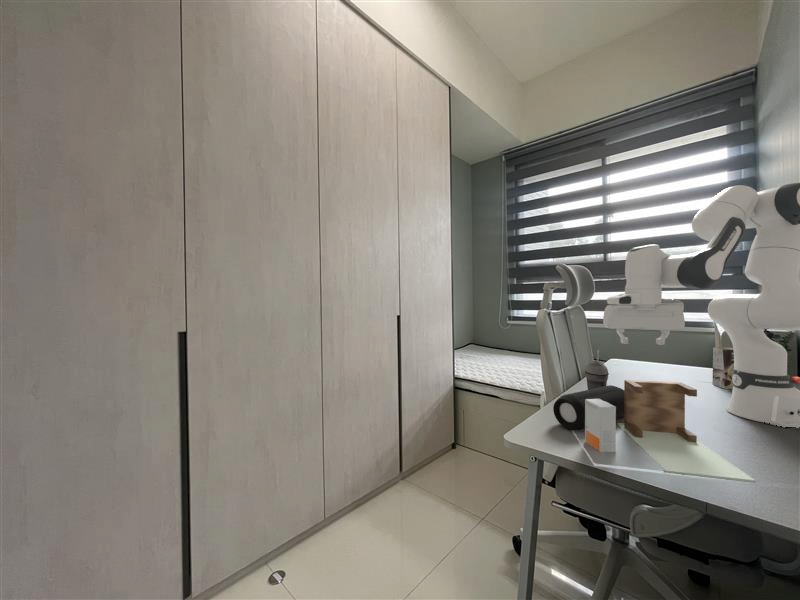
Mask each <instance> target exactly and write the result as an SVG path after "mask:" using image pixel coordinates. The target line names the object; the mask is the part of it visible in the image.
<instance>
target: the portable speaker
mask: <svg viewBox="0 0 800 600" xmlns="http://www.w3.org/2000/svg"><path fill="white" fill-rule="evenodd" d="M585 399H601V400H603V401H605V402H608V403H609V404H611V405H613V406H615V407H616V419H619V418H622V417H624V389H623V388H621V387H619V386H615V385H606V386H603V387H599V388H594V389H590V390H588V389H587V390H582V391H576V392H571V393H568V394H563V395H561V396H560V397H559V398H557V399H556V400H555V402H554V403H553V406H552V407H553V411H552V412H553V415H554V418H555V419H556V421H557V422H558V423H559V424H560V425H562V426H563V427H565V428H567V429H572V430H581V429H585Z"/></svg>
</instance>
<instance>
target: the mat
mask: <svg viewBox="0 0 800 600" xmlns="http://www.w3.org/2000/svg"><path fill="white" fill-rule="evenodd" d="M616 425H618V427H620V428H621V429H622V430H623V431H624V432H625V433H626V434H627V435H629V437H630V438H631V439H632V440H633V441H634V442H635V443H636V444H637V445H639V446H640V447H641V448H642V449H643V451H645V452H646V453H647V455H648V456H650V457H651V458H652V459H653V460H654V461H655V462H656V463H657V464H658V465H659V466H660V467H661V468H662V469H663V472H664V473H666V474H673V475H674V474H675V475H683V476H693V477H701V478H709V479H719V480H726V481H727V480H728V481H739V482H744V483H745V482H746V483H756V479H754V478H752V477H751V476H750V475H748V474H747V473H746V472H744V471H743V470H741V469H739V468H738V467H737V466H736V465H734V464H732V463H731V462H729V461H728V460H726V459H725V458H724V457H722V456H721V455H719V453H717V452H715V451H714V450H712V449H710V448H709V447H708V446H707V445H705V444H703V443H702V442H701V441H699V440H698V439H697V443H695V442H688V441H687V440H685V439H684V438H682V437H681V436H680V435H678V434H676V433H664V432H652V431H643V438H639V437H634V436H633V435H632V434H631V433H630V432H629V431H628V430H627V429H626V428H625V427H624V422H622V423H621V422H620V423H619V422H617V423H616Z"/></svg>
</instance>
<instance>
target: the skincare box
mask: <svg viewBox="0 0 800 600" xmlns="http://www.w3.org/2000/svg"><path fill="white" fill-rule="evenodd" d="M616 420H617V418H616V407H615V406H613V405H611V404H609V403H608V402H605V401H603V400H601V399H585V427H584V442H585V443H587V445H590V446H591V447H592V448H594V449H596V450H597V451H598V452H599V453H615V452H616V451H617V450H616V449H617V448H616V447H617V443H616V442H617V436H616V434H617V432H616V431H617V426H616V425H617V423H616V422H617V421H616Z"/></svg>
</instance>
